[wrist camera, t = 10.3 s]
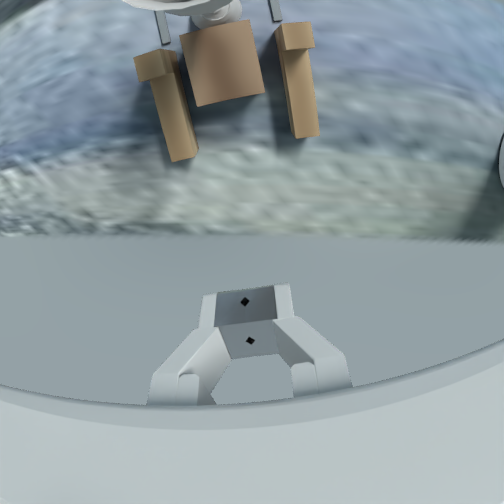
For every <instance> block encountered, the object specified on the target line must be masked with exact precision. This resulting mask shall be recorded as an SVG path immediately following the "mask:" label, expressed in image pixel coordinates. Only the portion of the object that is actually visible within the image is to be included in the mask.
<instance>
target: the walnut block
mask: <svg viewBox="0 0 504 504" xmlns="http://www.w3.org/2000/svg"><path fill="white" fill-rule="evenodd" d="M179 37H180V41H181V45H182V49H183V53H184V57H185V61H186V65H187V69H188V73H189V77H190V81H191V85H192V89H193V92H194V96H195V100H196V104H197V107H199V106H203V105H207V104H211V103H216V102H220V101H225V100H229V99H234V98H239V97H244V96H249V95H254V94H260V93H265V89H264V84H263V79H262V75H261V70H260V65H259V60H258V56H257V51H256V47H255V42H254V38H253V33H252V29H251V25H250V20H243V21H237V22H232V23H227V24H222V25H218V26H213V27H209V28H205V29H201V30H197V31H193V32H190V33H186V34H183V35H179Z"/></svg>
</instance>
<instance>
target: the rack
mask: <svg viewBox="0 0 504 504" xmlns="http://www.w3.org/2000/svg"><path fill="white" fill-rule="evenodd" d="M274 33H275V38H276V43H277V49H278V54H279V59H280V65H281V71H282V76H283V82H284V88H285V94H286V100H287V107H288V113H289V120H290V126H291V132H292V134H293V135H294V137H295V138H296V139H298V138H305V137H313V136H320V133H319V124H318V115H317V107H316V100H315V92H314V85H313V78H312V72H311V65H310V59H309V53H308V49H310V48H315V44H314V38H313V33H312V27H311V22H296V23H284V24H281V25H280V26H279V27H278V28H277V29H276V30H275V31H274ZM133 59H134V63H135V67H136V71H137V75H138V79H139V82H143V81H148V80H150V84H151V88H152V92H153V96H154V100H155V103H156V107H157V111H158V115H159V118H160V122H161V126H162V129H163V133H164V136H165V140H166V143H167V147H168V150H169V154H170V157H171V161H172V162H175V161H179V160H184V159H188V158H192V157H195V155H196V153H197V151H198V149H199V147H198V143H197V140H196V136H195V132H194V128H193V124H192V120H191V116H190V112H189V107H188V103H187V99H186V95H185V91H184V87H183V83H182V79H181V74H180V70H179V66H178V62H177V57H176V53H175V51H170V50H164V49H157V50H154V51H151V52H148V53H145V54H142V55H139V56H137V57H134V58H133Z"/></svg>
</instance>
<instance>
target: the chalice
mask: <svg viewBox="0 0 504 504" xmlns="http://www.w3.org/2000/svg"><path fill="white" fill-rule="evenodd" d="M122 1H124V2H126V3H128V4H130V5H132V6H133V7H137V8H144V9H150V10H155V11H158V10H162V11H164V12H166V13H169V14H174V15H178V16H191V19H192V21H193V22H194V24H195V25H196V26H197V27H198V28H200V29H205V28H209V27H213V26H218V25H222V24H227V23H232V22H237V21H239V19H240V17H241V13H242V6H241V3H240V1H239V0H122Z"/></svg>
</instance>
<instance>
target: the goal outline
mask: <svg viewBox="0 0 504 504" xmlns="http://www.w3.org/2000/svg"><path fill="white" fill-rule="evenodd" d="M270 4H271V9H272V13H273V18H274V21H279V20H282V15H281V11H280V6H279V1H278V0H270ZM156 16H157V21H158V25H159V30H160V34H161V39H162V43H163V44H165V43H168V42H171V40H170V35H169V31H168V26H167V22H166V17H165V13H164V11H162V10H158V11H156Z"/></svg>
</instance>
